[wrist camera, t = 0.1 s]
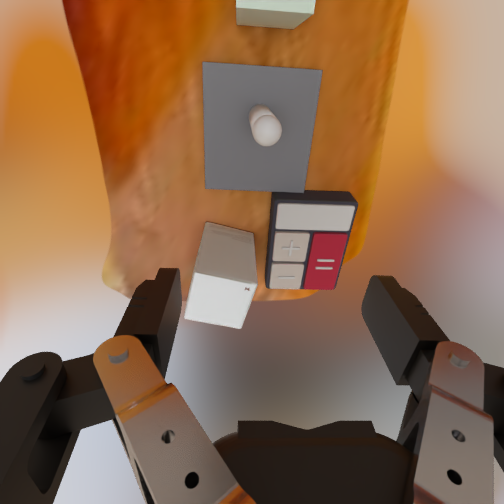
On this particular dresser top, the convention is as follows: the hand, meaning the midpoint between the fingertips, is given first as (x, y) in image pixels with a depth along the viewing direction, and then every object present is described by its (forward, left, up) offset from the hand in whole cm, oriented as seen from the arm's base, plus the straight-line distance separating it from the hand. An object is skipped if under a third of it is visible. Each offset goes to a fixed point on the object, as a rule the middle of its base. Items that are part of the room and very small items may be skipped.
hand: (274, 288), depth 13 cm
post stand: (-1, +1, -29) cm, 29 cm away
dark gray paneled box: (+13, +9, -30) cm, 34 cm away
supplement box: (+15, -3, -29) cm, 33 cm away
